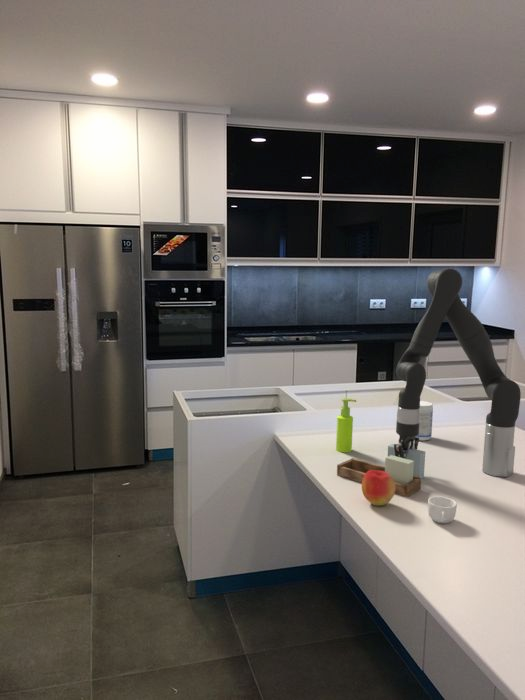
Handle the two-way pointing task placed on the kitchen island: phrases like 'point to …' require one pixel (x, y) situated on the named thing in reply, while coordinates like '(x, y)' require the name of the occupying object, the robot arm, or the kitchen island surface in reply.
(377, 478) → the apple
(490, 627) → the kitchen island surface
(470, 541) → the kitchen island surface
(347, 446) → the soap dispenser
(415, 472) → the blue-grey rectangular block
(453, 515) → the teacup
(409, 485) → the wooden tray
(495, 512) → the kitchen island surface
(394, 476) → the seated panel
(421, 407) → the supplement tub
